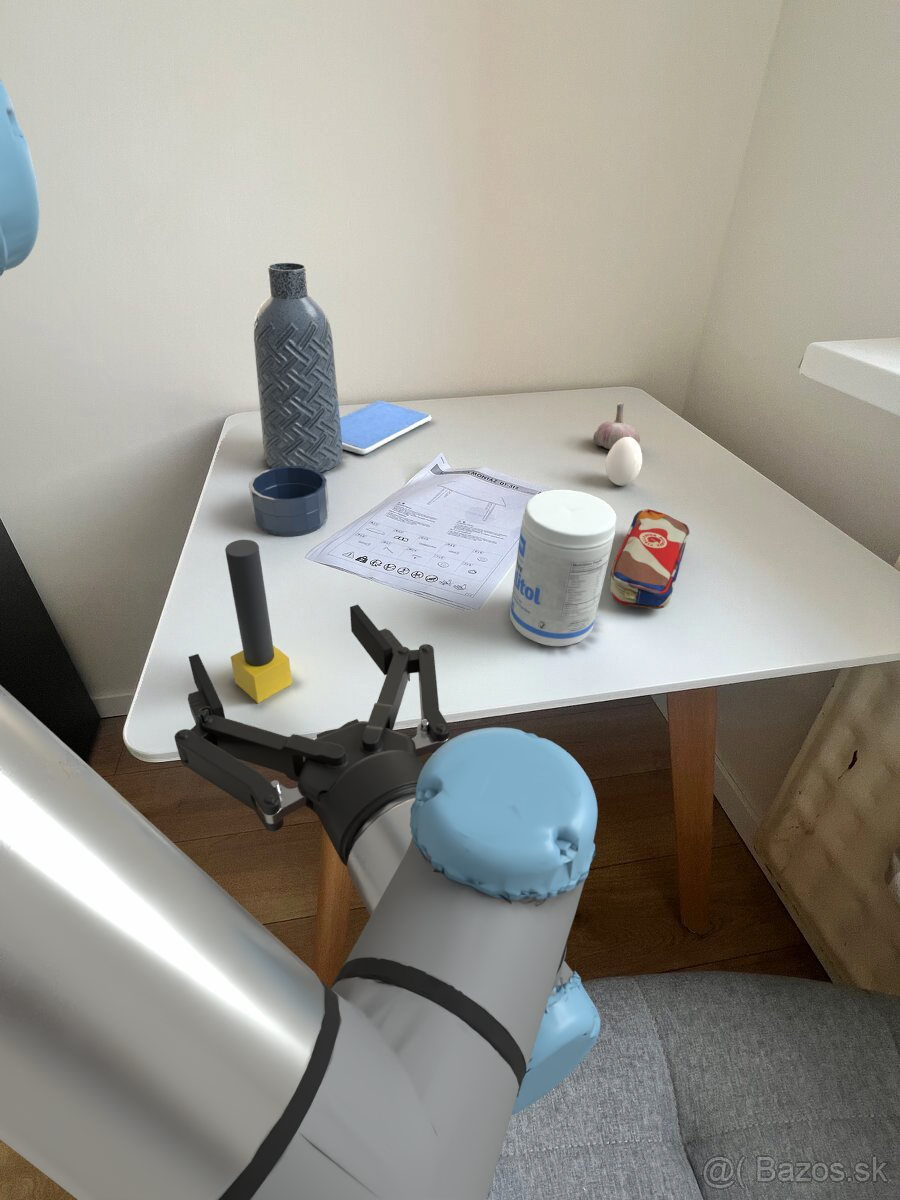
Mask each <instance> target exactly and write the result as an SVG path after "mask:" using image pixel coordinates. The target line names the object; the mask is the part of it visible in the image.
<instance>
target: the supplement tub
mask: <svg viewBox="0 0 900 1200" xmlns="http://www.w3.org/2000/svg"><path fill="white" fill-rule="evenodd" d="M616 524H617V514H616V512H615V510H614V509H613V508H612V506H611V505H610V504H609V503H608V502H606V501H604V500H603V499H601V498H599V497H597V496H595V495H593V494H589V493H587V492H583V491H579V490H571V489H551V490H545V491H542V492H539V493H537V494H535V495H533V496H531V497H530V498H529V499H528V501H527V502H526V504H525V507H524V513H523V515H522V520H521V525H520V533H519V539H518V546H517V555H516V562H515V570H514V577H513V578H514V579H513V583H512V584H513V586H512V592H511V599H510V600H511V601H510V610H509V617H510V621H511V623H512V625H513V627H514V629H516V631H518V633H520V635H522V636H524V637H525V638H527V639H529V640H531V641H533V642H535V643H537V644H541V645H544V646H551V647H565V646H571V645H575V644H578V643H580V642H581V641H583V640H585V639H587V637H588V636H589V635H590V634H591V632H592V630H593V628H594V625H595V621H596V618H597V617H596V616H597V612H598V608H599V603H600V599H601V596H602V590H603V587H604V583H605V577H606V574H607V568H608V564H609V560H610V556H611V551H612V549H613V544H614V538H615V534H616Z"/></svg>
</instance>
